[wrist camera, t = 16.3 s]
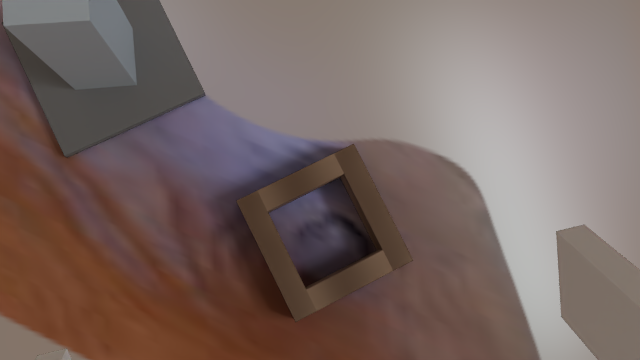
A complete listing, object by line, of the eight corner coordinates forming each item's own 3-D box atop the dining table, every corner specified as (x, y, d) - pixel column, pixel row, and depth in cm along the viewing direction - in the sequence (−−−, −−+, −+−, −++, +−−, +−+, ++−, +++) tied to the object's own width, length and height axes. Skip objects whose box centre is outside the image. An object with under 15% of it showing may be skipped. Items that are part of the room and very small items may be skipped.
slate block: (132, 27, 40) (84, -57, 29) (136, 84, 39) (89, 20, 28) (71, 32, 39) (-1, -53, 29) (75, 89, 39) (3, 25, 28)
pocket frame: (349, 149, 41) (353, 143, 39) (405, 260, 40) (413, 260, 38) (237, 203, 40) (236, 200, 38) (293, 318, 39) (295, 322, 37)
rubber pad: (143, -31, 41) (141, -35, 40) (205, 95, 40) (204, 92, 40) (5, 26, 40) (1, 22, 39) (67, 157, 39) (64, 155, 38)
